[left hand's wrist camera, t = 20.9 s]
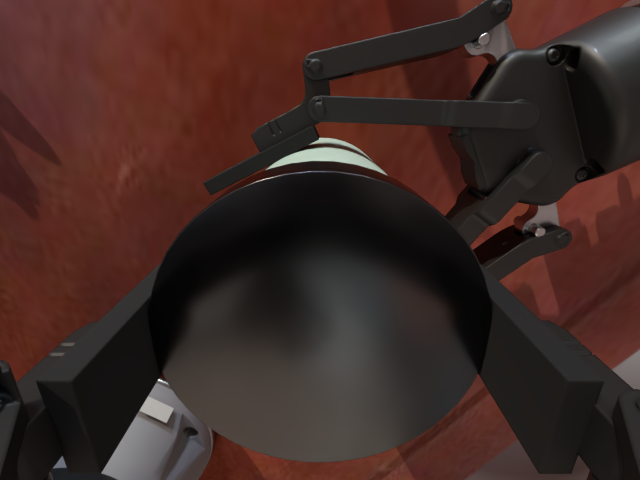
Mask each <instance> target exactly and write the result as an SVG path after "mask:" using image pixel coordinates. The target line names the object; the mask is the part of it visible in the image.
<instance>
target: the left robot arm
mask: <svg viewBox="0 0 640 480" xmlns="http://www.w3.org/2000/svg"><path fill="white" fill-rule="evenodd" d="M160 264H161V263H160ZM160 264H159V265H158V266H157V267H156V268H155V269H154V270H153V271H152V272H151V273H150V274H149V275H148V276H146V277H145V278H144V279H143V280H142V281H141V282H140V283H139V284H138V285H137V286H136V287H135V288H134V289H133V290H132V291H131V292H129V293H128V294H127V295H126V296H125V297H124V298H123V299H122V300H121V301H120V302H119V303H118V304H117V305H116V306H115V307H114V308H112V309H111V310H110V311H109V312H108V313H107V314H106V315H105V316H104V317H103V318H102V319H101V320H100V321H99V322H90V323H89V324H87V325H85V326H83V327H81V328H80V329H78V330H76V331H74V332H73V333H72V334H71V335H69V336H68V337H67V338H66V339H65V340H64V341H63V342H62V343H60V346H57V347H56V348H55V349H54V350H53V351H51V352H50V353H49V356H46V357H45V358H44V359H42V360H41V361H40V362H39V363H38V364H37V365H36V366H35V367H33V368H32V369H31V370H30V371H29V372H28V373H27V374H26V375H24V376H23V377H22V378H21V379H20V380H19V381H18V382H16V381H15V378H14V376H13V373H12V371H11V368H10V365H9V363H7V362H5V361H3V360H0V480H198V479H199V478H200V476H201V475H202V473H203V472H204V470H205V468H206V465H207V464H208V462H209V459H210V457H211V454H212V450H213V447H214V444H215V440H216V432H215V431H214V430H212V429H211V428H209V427H208V426H206V425H205V424H204V423H203V422H201V421H200V420H199V419H198V418H197V417H196V416H195V415H193V414H192V413H191V412H190V411H189V410H188V409H187V408H186V406H185V405H184V404H183V403H182V402H181V401H180V400H179V399H178V397H177V396H176V395H175V393H174V392H173V390H172V389H171V387H170V386H169V384H168V383H167V381H166V379H165V377H164V375H163V373H162V371H161V369H160V367H159V365H158V362H157V359H156V356H155V352H154V348H153V343H152V338H151V333H150V327H149V305H150V298H151V290H152V287H153V283H154V280H155V277H156V273H157V270H158V268H159V266H160ZM480 266H481V268H482V270H483V272H484V275H485V278H486V282H487V286H488V290H489V294H490V302H491V314H492V318H491V329H490V335H489V340H488V344H487V349H486V354H485V358H484V360H483V363H482V365H481V368H480V371H479V372H478V374H479V376H480V377H481V379H482V380H483V382H484V384H485V385H486V387H487V389H488V390H489V392H490V394H491V395H492V397H493V399H494V400H495V402H496V404H497V405H498V407H499V408H500V410H501V412H502V413H503V415H504V417H505V418H506V420H507V422H508V423H509V425H510V427H511V428H512V430H513V431H514V433H515V435H516V436H517V438H518V440H519V441H520V443H521V445H522V446H523V448H524V450H525V451H526V453H527V455H528V456H529V458H530V459H531V461H532V463H533V464H534V466H535V468H536V469H537V471H538V473H540V474H571V473H572V471H573V468H574V465H575V462H576V459H577V457H578V455H579V456H580V457H581V459H582V460H583V461H584V463H585V464H586V465H587V467H588V468H589V469H590V472H589V475H588V477H587V480H640V390H638V389H633V388H631V387H630V386H629V385H628V384H627V383H626V382H625V381H624V380H622V379H621V378H620V377H619V376H618V375H617V374H616V373H615V372H613V371H612V370H611V369H610V368H609V367H608V366H607V365H605V364H604V363H603V362H602V361H601V360H600V359H599V358H597V357H596V356H595V355H592V352H591V351H590V350H588V349H587V348H586V347H585V346H584V345H581V344H580V342H579V341H578V340H577V339H576V338H575V337H574V336H572V335H571V334H570V333H569V332H568V331H567V330H565V329H563V328H561V327H559V326H558V325H556V324H554V323H552V322H550V321H541V320H539V319H538V318H537V317H536V316H535V315H534V314H533V313H532V312H531V311H530V310H529V309H528V308H527V307H526V306H525V305H524V304H522V303H521V302H520V301H519V300H518V299H517V298H516V297H515V296H514V295H513V294H512V293H511V292H510V291H509V290H508V289H507V288H505V287H504V286H503V285H502V284H501V283H500V282H499V281H498V280H497V279H496V278H495V277H494V276H493V275H492V274H491V273H490V272H488V271H487V270H486V269H485V268H484V267H483V266H482V265H481V264H480Z"/></svg>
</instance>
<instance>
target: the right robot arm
mask: <svg viewBox="0 0 640 480" xmlns="http://www.w3.org/2000/svg"><path fill="white" fill-rule="evenodd" d="M511 10H512V0H485V1H484V2H482V3H481V4H479V5H478V6H476V7H475V8H473V9H471V10H470V11H468V12H467V13H465V14H464V15H462V16H461V17H459V18H455V19H451V20H447V21H443V22H438V23H434V24H430V25H426V26H421V27H417V28H413V29H409V30H405V31H400V32H396V33H392V34H388V35H383V36H379V37H375V38H371V39H366V40H362V41H358V42H354V43H350V44H345V45H341V46H337V47H333V48H328V49H324V50H320V51H316V52H312V53H310V54H308V55H307V56H306V57H305V58H304V61H303V72H304V81H305V98H304V100H303V102H302V103H301V104H300V105H299V106H297V107H295V108H293V109H292V110H290V111H288V112H286V113H284V114H282V115H280V116H279V117H277V118H275V119H273V120H271V121H269V122H268V123H266V124H264V125H262V126H260V127H258V128H257V129H256V130H255V132H254V133H253V134H252V135H251V136H252V138H253V140H254V142H255V144H256V146H257V148H258V149H259V151H260V152H259V153H257V154H255V155H253V156H251V157H250V158H248V159H246V160H244V161H242V162H240V163H238V164H236V165H234V166H232V167H230V168H229V169H227V170H225V171H223V172H221V173H219V174H217V175H215V176H214V177H212V178H210V179H209V180H207V181H205V182H204V183H203V184H204V185H205V187H206V188H207V190H208V192H209V193H210V195H212V194H214V193H216V192H218V191H220V190H222V189H224V188H226V187H228V186H230V185H232V184H234V183H236V182H238V181H239V180H241V179H243V178H245V177H247V176H249V175H251V174H253V173H255V172H257V171H259V170H261V169H263V168H265V167H267V166H269V165H271V164H273V163H274V162H276V161H278V160H280V159H282V158H284V157H286V156H288V155H290V154H292V153H294V152H296V151H298V150H300V149H302V148H304V147H306V146H308V145H309V144H311V143H313V142H315V141H317V140H319V134H318V132H317V130H316V128H315V126H314V125H316V124H318V123H320V122H347V123H374V124H402V125H430V126H451V134H449V135H448V136H449V138H450V141H451V144H452V147H453V148H454V150H455V151H456V153H457V154H458V155H459V157H460V160H461V173H462V175H463V178H464V181H465V183H466V184H468V185H467V186H466V187H465V188H464V190H463V191H462V192H461V193H460V194H459V196H458V197H457V202H456V204H455V205H454V206H453V208H452V209H451V210H450V211H449V212H448V213H447V215H446V216H445V217H446V218H447V219H448V220H449V221H450V222H451V223H452V224H453V225H454V226H455V227H456V228H457V230H458V231H459V232H460V233H461V234H462V235H463V236H464V238H465V239H466V241H467V242H468V244H469V245H471V244H472V243H473V242H474V241H475V240H476V238H477V237H478V236H479V235H480V234H481V233H482V232H483V231H484V230H485V229H486V228H487V227H488V226H491V225H494V224H496V223H498V222H499V221H500V220H501V219H502V218H503V217H504V216H505V215H506V213H507V212H508V211H509V210H510V209H511V208H512V207H513V206H514V205H515V204H516V203H517V202H519V203H525V204H529V208H528V210H527V212H526V213H525V214H523V215H522V216H517V217H515V219H514V225H512V226H509V227H507V228H505V229H503V230H501V231H500V232H498V233H497V234H495V235H494V236H492V237H491V238H489V239H488V240H486V241H485V242H484V243H482V244H481V245H479V246H478V247H477V248H475V249H474V250H473V252H474V253H475V255H476V256H477V259H478V261H479V263H480V264H481V265H482V266H483V267H484V268H485V269H486V270H487V271H488V272H490V273H491V274H492V275H493V276H494V277H495V278H496V279H497V280H498V281H499V280H501V279H502V278H504V277H505V276H507V275H508V274H510V273H511V272H513V271H514V270H516V269H517V268H519V267H520V266H522V265H523V264H525V263H526V262H528V261H529V260H531V259H532V258H535V257H538V256H541V255H544V254H547V253H550V252H553V251H556V250H559V249H562V248H564V247H566V246H567V245H568V244H569V243H570V242H571V240H572V235H571V232H569V231H568V230H566V229H564V228H562V227H560V225H559V219H558V212H557V206H556V202H557V201H558V200H560V199H561V198H562V197H563V196H564V195H565V193H566V192H567V191H569V190H570V189H571V188H572V187H574V186H575V185H577V184H579V183H581V182H584V181H587V180H590V179H594V178H597V177H600V176H603V175H606V174H608V173H611V172H613V171H615V170H618V169H620V168H622V167H625V166H627V165H629V164H631V163H634V162H636V161H638V160H640V0H631V1H629V2H627V3H625V4H624V5H623V6H622V7H621V8H617V9H613V10H611V11H608V12H606V13H604V14H602V15H600V16H598V17H596V18H594V19H592V20H590V21H588V22H586V23H584V24H582V25H580V26H578V27H576V28H574V29H572V30H570V31H568V32H566V33H564V34H562V35H560V36H559V37H557V38H555V39H553V40H551V41H549V42H547V43H545V44H543V45H541V46H539V47H537V48H534V49H516V47H515V45H514V42H513V39H512V37H511V34H510V31H509V29H508V26H507V23H506V21H505V20H506V19H507V18H508V17H509V15H510V13H511ZM457 48H458V49H459V52H460V53H461V55H462V56H463V57H465V58H472V57H476V56H482V57H484V58H486V59H487V61H488V62H489V63H488V65H487V66H486V68H485V69H484V71H483V73H482V74H481V76H480V77H479V79H478V81H477V82H476V84H475V85H474V87H473V89H472V90H471V92H470V93H469V95H468V97H467V98H466V100H425V99H397V98H370V97H343V96H330V88H329V81H332V80H336V79H340V78H345V77H349V76H354V75H358V74H362V73H367V72H371V71H375V70H380V69H384V68H388V67H393V66H397V65H402V64H406V63H410V62H415V61H419V60H423V59H428V58H432V57H436V56H440V55H443V54H445V53H448V52H450V51H452V50H454V49H457ZM486 196H487V198H486V199H484V198H485V197H486Z"/></svg>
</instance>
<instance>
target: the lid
mask: <svg viewBox="0 0 640 480" xmlns="http://www.w3.org/2000/svg"><path fill="white" fill-rule="evenodd" d="M491 318H492V314H491V302H490V294H489V290H488V286H487V282H486V278H485V275H484V272H483V270H482V268H481V266H480V263H479V261H478V259H477V256H476V255H475V253H474V252H473V250H472V248H471V247H470V245H469V244H468V242H467V241H466V239H465V238H464V236H463V235H462V234H461V233H460V232H459V231H458V230H457V228H456V227H455V226H454V225H453V224H452V223H451V222H450V221H449V220H448V219H447V218H446V217H445V216H444V215H442V214H441V213H440V212H439V211H438V210H437V209H435V208H434V207H433V206H432V205H431V204H429V203H428V202H427V201H426V200H425V199H423V198H422V197H421V196H420V195H418V194H417V193H416V192H415V191H414V190H412V189H410V188H409V187H407V186H406V185H404V184H403V183H401V182H399V181H398V180H396V179H394V178H392V177H390V176H387V175H385V174H383V173H381V172H378V171H376V170H373V169H369V168H366V167H362V166H359V165H356V164H349V163H342V162H336V161H306V162H298V163H290V164H286V165H282V166H278V167H274V168H270V169H267V170H265V171H262V172H260V173H258V174H255V175H253V176H250V177H248V178H246V179H245V180H243V181H241V182H240V183H238V184H236V185H234V186H233V187H231V188H230V189H228V190H227V191H226V192H225V193H223V194H222V195H221V196H220V197H218V198H217V199H216V200H215V201H213V202H212V203H211V204H210V205H208V206H207V207H206V208H205V209H204V210H202V211H201V212H200V213H199V214H198V215H196V216H195V217H194V218H193V219H192V220H191V221H190V222H189V223H188V224H187V226H186V227H185V228H184V229H183V230H182V231H181V232H180V233H179V234H178V236H177V237H176V239H175V240H174V241H173V243H172V244H171V246H170V247H169V249H168V250H167V252H166V254H165V256H164V258H163V260H162V262H161V264H160V266H159V268H158V270H157V273H156V277H155V280H154V283H153V287H152V290H151V298H150V305H149V327H150V333H151V338H152V343H153V348H154V352H155V356H156V359H157V362H158V365H159V367H160V369H161V371H162V373H163V375H164V377H165V379H166V381H167V383H168V384H169V386H170V387H171V389H172V390H173V392H174V393H175V395H176V396H177V397H178V399H179V400H180V401H181V402H182V403H183V404H184V405H185V406H186V408H187V409H188V410H189V411H190V412H191V413H192V414H193V415H195V416H196V417H197V418H198V419H199V420H200V421H201V422H203V423H204V424H205V425H206V426H208V427H209V428H211V429H212V430H214V431H215V432H216V433H218V434H219V435H221V436H223V437H225V438H227V439H229V440H230V441H232V442H234V443H236V444H238V445H241V446H243V447H245V448H248V449H250V450H253V451H256V452H259V453H262V454H265V455H269V456H273V457H277V458H282V459H287V460H295V461H304V462H335V461H347V460H352V459H358V458H364V457H368V456H371V455H375V454H378V453H382V452H385V451H387V450H390V449H392V448H395V447H398V446H400V445H402V444H404V443H406V442H408V441H410V440H412V439H414V438H416V437H418V436H419V435H421V434H422V433H424V432H425V431H427V430H428V429H430V428H431V427H433V426H434V425H435V424H436V423H438V422H439V421H440V420H441V419H442V418H444V417H445V416H446V415H447V414H448V413H449V412H450V411H451V410H452V409H453V408H454V407H455V406H456V405H457V404H458V403H459V402H460V400H461V399H462V398H463V396H464V395H465V393H466V392H467V391H468V389H469V388H470V387H471V385H472V383H473V381H474V380H475V378H476V376H477V374H478V372H479V371H480V368H481V365H482V363H483V360H484V358H485V354H486V349H487V344H488V340H489V335H490V329H491Z"/></svg>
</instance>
